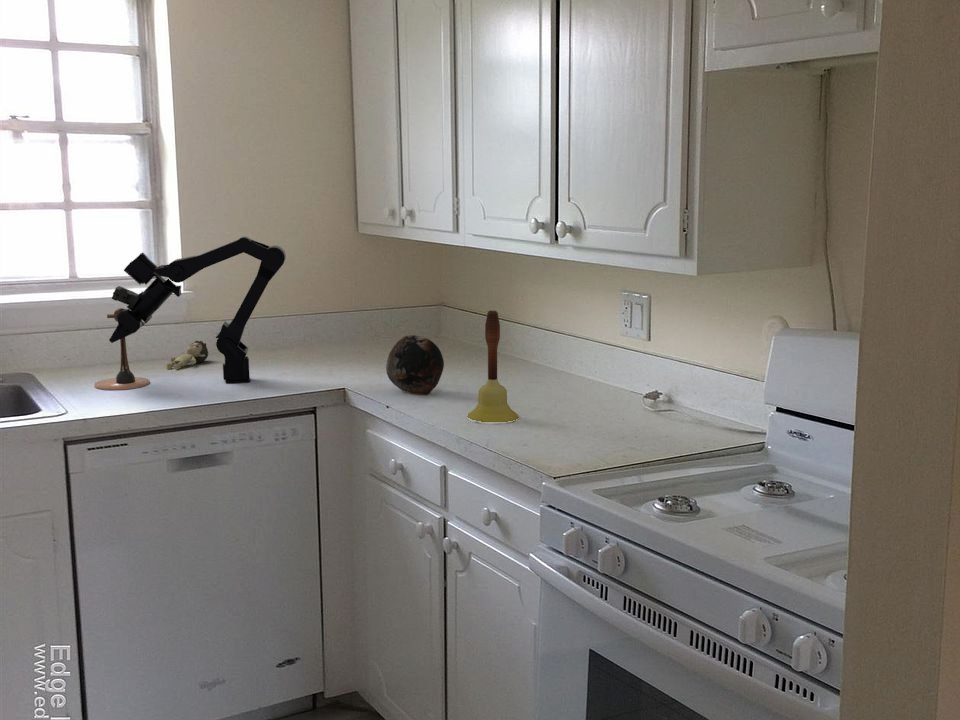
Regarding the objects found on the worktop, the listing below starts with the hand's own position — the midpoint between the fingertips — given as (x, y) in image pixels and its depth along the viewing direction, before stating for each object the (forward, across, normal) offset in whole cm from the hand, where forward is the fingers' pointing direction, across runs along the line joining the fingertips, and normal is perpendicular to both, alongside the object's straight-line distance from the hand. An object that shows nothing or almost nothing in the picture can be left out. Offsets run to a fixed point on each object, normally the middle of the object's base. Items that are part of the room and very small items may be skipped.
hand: (113, 339), depth 274 cm
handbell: (-58, +50, +76) cm, 108 cm away
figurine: (-2, -25, +20) cm, 32 cm away
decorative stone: (-47, +21, +65) cm, 83 cm away
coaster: (+8, 0, +10) cm, 12 cm away
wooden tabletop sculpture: (+7, 0, +10) cm, 12 cm away
